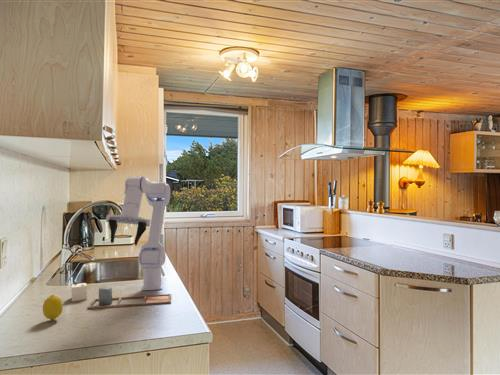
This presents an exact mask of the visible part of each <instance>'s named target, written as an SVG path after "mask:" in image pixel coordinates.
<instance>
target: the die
mask: <svg viewBox="0 0 500 375" xmlns="http://www.w3.org/2000/svg"><path fill="white" fill-rule="evenodd" d="M87 286H88V285H87V282H81V283H80V282H79V283H73V284H71V302H76V301H77V302H78V301H85V300H87V299H88V295H87V294H88V293H87V292H88V288H87Z"/></svg>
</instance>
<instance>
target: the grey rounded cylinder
mask: <svg viewBox="0 0 500 375" xmlns="http://www.w3.org/2000/svg"><path fill="white" fill-rule="evenodd" d="M112 298H113V287H112V286H103V287H100V288H98V299H99V301H98V306H107V305H113V300H112Z"/></svg>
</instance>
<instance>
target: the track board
mask: <svg viewBox="0 0 500 375" xmlns="http://www.w3.org/2000/svg"><path fill="white" fill-rule="evenodd" d="M133 299H135V300H136V299H143V300H142V302H139V303H126V304H125V303H124V304H121V302H122V300H133ZM112 301H117V302H116V303H115V304H111V305H107V306H100V305H96V306H94V304H95V303H96V302H99V298H94V299H92V301H91V302H90V303H89V305H88V306H87V310H95V309H99V310H100V309H110V308H111V309H112V308H113V309H114V308H125V307H140V306H151V305H152V306H153V305H154V306H155V305H156V306H157V305H169V304H171V303H172V293H165V294H164V293H163V294H153V295H152V294H150V295H148V294H147V295H134V296H133V295H132V296H119V297H118V296H116V297H112Z"/></svg>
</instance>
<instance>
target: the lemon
mask: <svg viewBox="0 0 500 375" xmlns="http://www.w3.org/2000/svg"><path fill="white" fill-rule="evenodd" d="M63 307H64V306H63V301H62V299H61V297H59V296H58V295H54V294H51V295H50V296H48V297H47V298H46V299H45V300H44V302H43V305H42V313H43V316H44V318H46V319H47V320H48V319H49V320H51V321H55V320H56V319H57V318H58V317H60V315H61V314H62V312H63V309H64V308H63Z"/></svg>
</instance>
